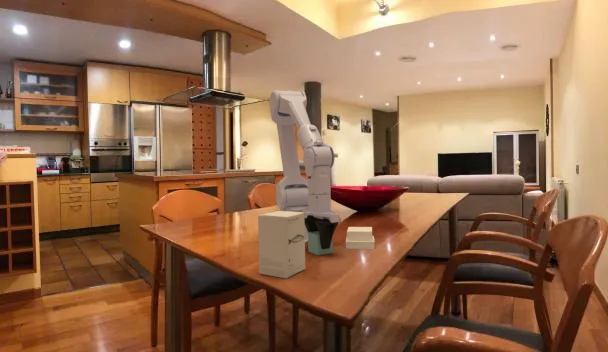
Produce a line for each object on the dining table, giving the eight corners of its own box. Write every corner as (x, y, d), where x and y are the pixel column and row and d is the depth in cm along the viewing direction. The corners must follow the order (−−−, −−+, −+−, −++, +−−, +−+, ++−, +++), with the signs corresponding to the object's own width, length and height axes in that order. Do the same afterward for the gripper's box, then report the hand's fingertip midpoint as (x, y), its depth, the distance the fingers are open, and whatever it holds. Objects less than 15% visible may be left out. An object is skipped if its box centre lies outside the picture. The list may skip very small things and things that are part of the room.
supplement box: (287, 279, 75) (285, 216, 74) (258, 274, 79) (256, 214, 78) (306, 269, 81) (305, 211, 81) (278, 265, 85) (277, 209, 85)
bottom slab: (345, 250, 99) (345, 241, 99) (347, 244, 107) (346, 235, 106) (374, 251, 98) (374, 241, 98) (373, 244, 105) (373, 235, 105)
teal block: (308, 251, 97) (308, 232, 97) (323, 249, 99) (322, 230, 99) (317, 255, 93) (317, 235, 93) (332, 252, 95) (332, 233, 95)
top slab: (347, 240, 100) (346, 231, 100) (348, 235, 106) (348, 226, 106) (372, 241, 99) (371, 231, 98) (372, 235, 105) (372, 227, 105)
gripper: (292, 192, 100) (293, 243, 100) (321, 197, 87) (322, 255, 88) (314, 190, 103) (315, 239, 104) (345, 195, 90) (346, 250, 91)
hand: (320, 246), depth 96 cm, fingers closed on teal block, 4 cm apart
